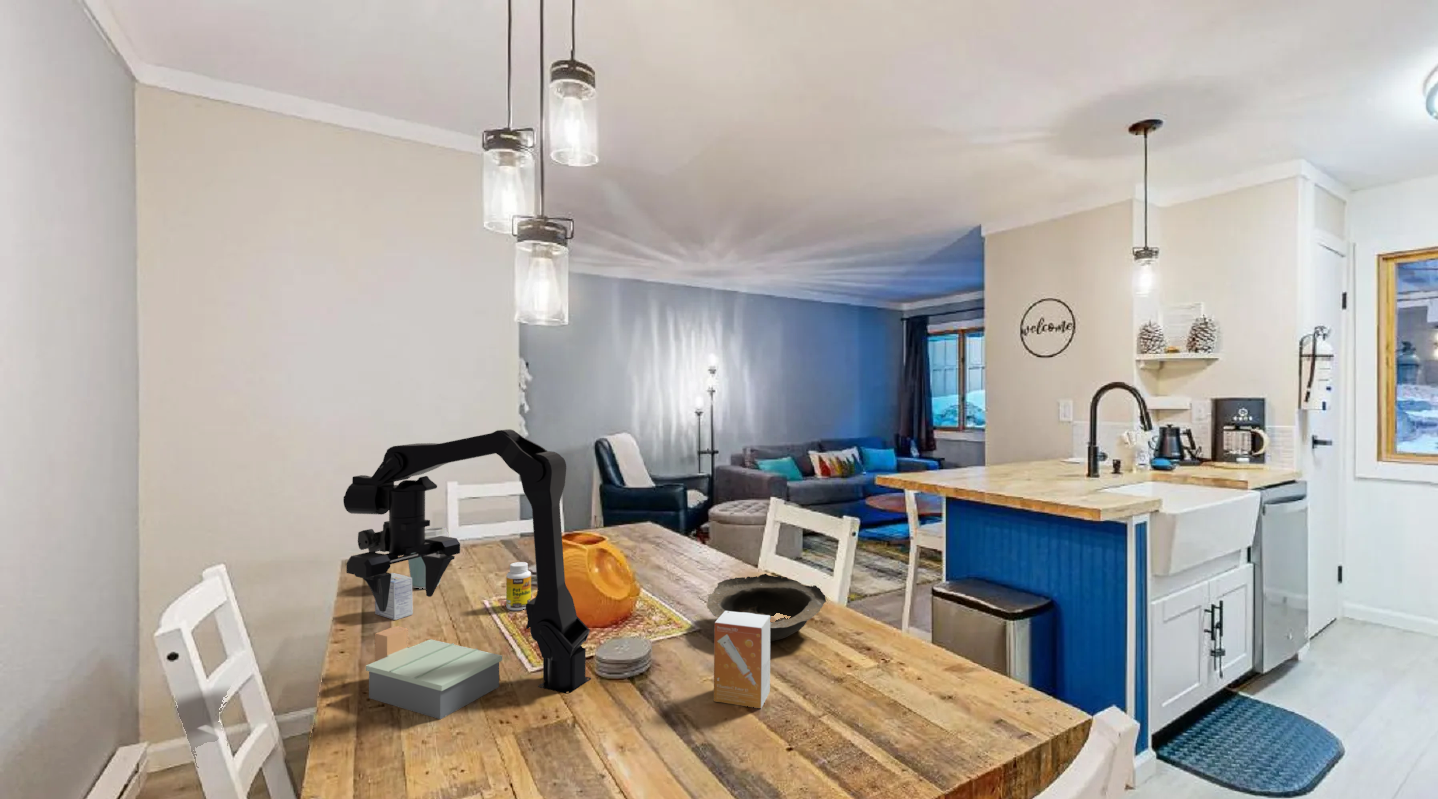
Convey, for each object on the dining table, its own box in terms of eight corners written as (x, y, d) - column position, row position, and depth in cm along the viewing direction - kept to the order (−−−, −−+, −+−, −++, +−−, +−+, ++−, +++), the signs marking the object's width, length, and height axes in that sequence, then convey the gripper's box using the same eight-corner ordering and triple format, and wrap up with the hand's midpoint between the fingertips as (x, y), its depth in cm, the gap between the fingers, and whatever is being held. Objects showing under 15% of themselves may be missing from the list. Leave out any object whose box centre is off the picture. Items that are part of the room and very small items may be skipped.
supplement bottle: (509, 613, 144) (510, 568, 144) (503, 606, 149) (503, 563, 149) (534, 608, 147) (534, 564, 147) (527, 602, 152) (527, 559, 152)
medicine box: (413, 615, 143) (413, 577, 143) (393, 621, 139) (394, 581, 139) (393, 609, 147) (393, 572, 147) (374, 614, 143) (374, 576, 143)
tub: (499, 690, 106) (499, 660, 106) (440, 723, 95) (440, 689, 95) (431, 672, 113) (431, 644, 113) (369, 701, 102) (369, 670, 102)
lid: (502, 672, 106) (502, 636, 106) (441, 704, 94) (441, 664, 95) (416, 651, 114) (416, 618, 114) (351, 678, 103) (351, 642, 103)
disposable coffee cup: (394, 591, 161) (394, 532, 161) (421, 579, 171) (421, 524, 171) (432, 593, 159) (432, 533, 159) (457, 581, 169) (457, 525, 170)
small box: (713, 702, 102) (713, 621, 102) (724, 685, 108) (724, 609, 108) (761, 710, 99) (762, 627, 99) (770, 692, 105) (771, 614, 105)
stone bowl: (791, 606, 149) (793, 567, 148) (845, 654, 125) (847, 609, 125) (691, 615, 141) (692, 575, 140) (727, 669, 117) (729, 620, 117)
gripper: (422, 504, 123) (421, 583, 123) (326, 520, 107) (325, 612, 107) (462, 508, 118) (462, 591, 118) (368, 526, 102) (368, 623, 102)
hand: (406, 603), depth 111 cm, fingers open, 9 cm apart
